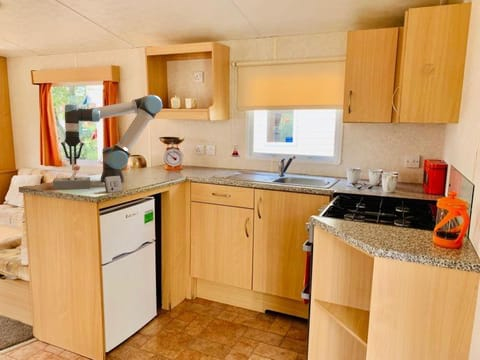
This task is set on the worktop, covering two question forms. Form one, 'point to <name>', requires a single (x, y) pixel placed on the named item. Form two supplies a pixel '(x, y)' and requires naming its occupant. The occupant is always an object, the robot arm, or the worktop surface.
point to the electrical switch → (113, 184)
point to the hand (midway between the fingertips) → (73, 170)
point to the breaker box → (71, 183)
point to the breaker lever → (75, 172)
